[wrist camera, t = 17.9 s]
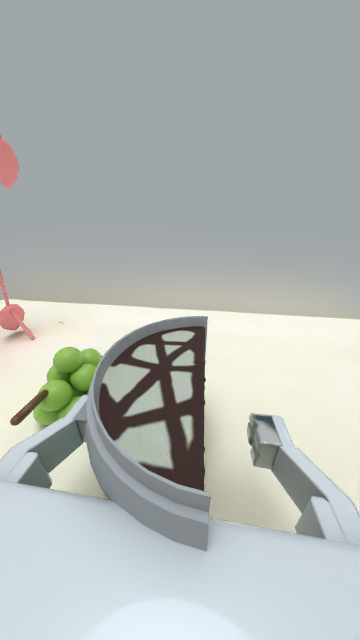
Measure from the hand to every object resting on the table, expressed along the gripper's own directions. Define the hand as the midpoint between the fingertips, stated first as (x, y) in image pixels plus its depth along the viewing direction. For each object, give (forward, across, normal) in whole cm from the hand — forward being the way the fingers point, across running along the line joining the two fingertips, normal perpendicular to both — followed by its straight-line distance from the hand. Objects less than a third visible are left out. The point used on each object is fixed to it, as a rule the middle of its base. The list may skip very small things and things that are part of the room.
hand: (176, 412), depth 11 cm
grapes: (+5, +11, +7) cm, 14 cm away
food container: (+1, +1, +7) cm, 7 cm away
